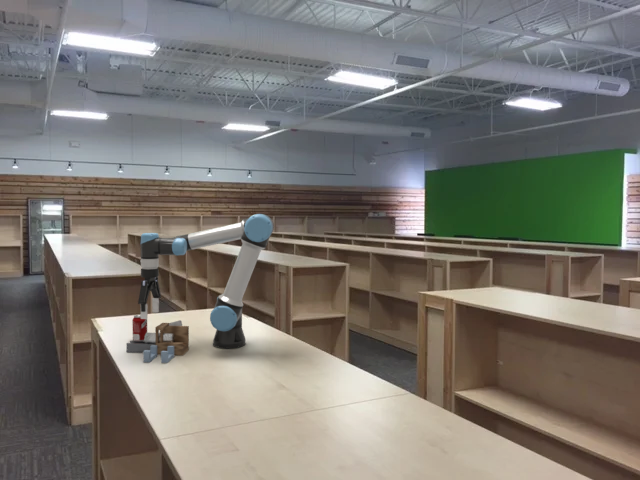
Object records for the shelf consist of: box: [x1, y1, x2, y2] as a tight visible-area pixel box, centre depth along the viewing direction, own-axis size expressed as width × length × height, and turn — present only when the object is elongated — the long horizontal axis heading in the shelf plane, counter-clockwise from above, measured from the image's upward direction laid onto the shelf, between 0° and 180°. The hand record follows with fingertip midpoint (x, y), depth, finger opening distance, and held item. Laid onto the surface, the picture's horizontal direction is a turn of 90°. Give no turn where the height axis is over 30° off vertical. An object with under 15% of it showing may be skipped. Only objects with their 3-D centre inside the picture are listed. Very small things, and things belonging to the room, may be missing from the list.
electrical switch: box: [168, 320, 183, 326], centre depth 260 cm, size 9×5×9 cm, turn 152°
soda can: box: [131, 314, 148, 341], centre depth 258 cm, size 7×7×12 cm
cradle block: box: [142, 345, 175, 364], centre depth 228 cm, size 10×9×5 cm
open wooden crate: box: [154, 322, 190, 357], centre depth 239 cm, size 12×9×12 cm
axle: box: [144, 332, 175, 344], centre depth 239 cm, size 12×5×5 cm, turn 87°
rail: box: [125, 340, 156, 354], centre depth 240 cm, size 14×4×4 cm, turn 87°
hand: (150, 315), depth 239 cm, fingers open, 13 cm apart
